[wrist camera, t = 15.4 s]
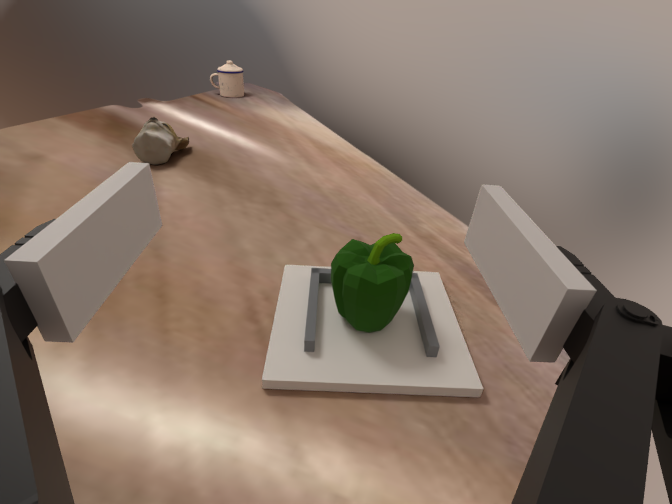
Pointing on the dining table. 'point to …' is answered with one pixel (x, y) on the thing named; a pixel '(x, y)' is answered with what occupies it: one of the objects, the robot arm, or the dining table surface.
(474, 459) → the dining table surface
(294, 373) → the board
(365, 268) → the bell pepper
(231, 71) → the teacup with lid
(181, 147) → the garlic bulb
